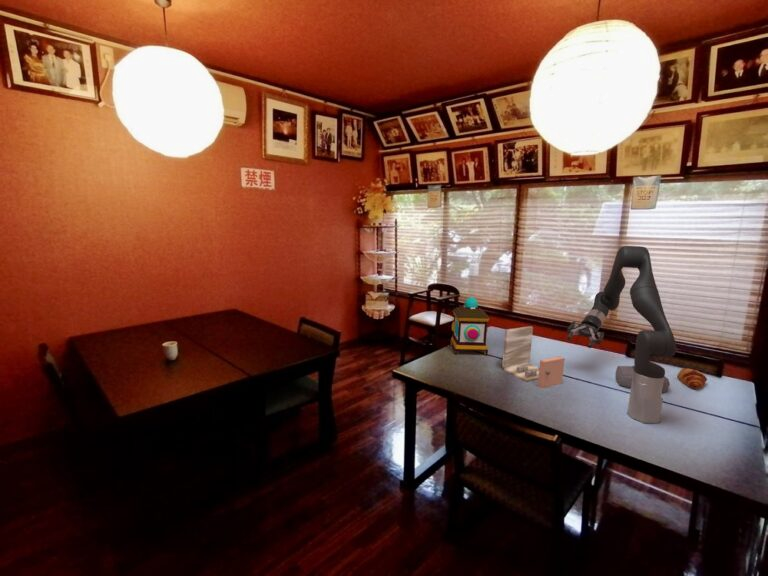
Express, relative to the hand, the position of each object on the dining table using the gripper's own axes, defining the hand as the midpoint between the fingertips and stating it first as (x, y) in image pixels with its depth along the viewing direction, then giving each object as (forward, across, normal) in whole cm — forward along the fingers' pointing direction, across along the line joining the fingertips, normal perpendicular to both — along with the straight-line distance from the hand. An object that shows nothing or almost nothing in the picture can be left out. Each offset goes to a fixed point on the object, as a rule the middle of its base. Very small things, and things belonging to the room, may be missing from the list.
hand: (578, 342), depth 167 cm
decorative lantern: (+14, -51, +24) cm, 58 cm away
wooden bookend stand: (+17, -15, +15) cm, 27 cm away
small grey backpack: (-7, +26, +19) cm, 33 cm away
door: (+21, -3, +10) cm, 23 cm away
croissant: (-27, +42, +27) cm, 56 cm away
